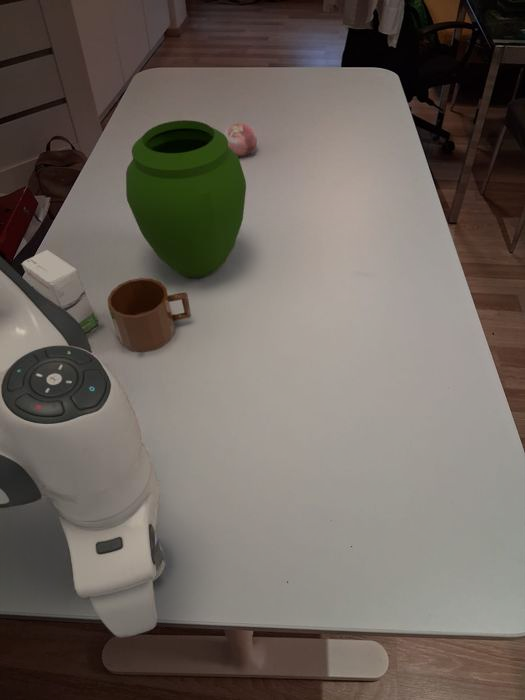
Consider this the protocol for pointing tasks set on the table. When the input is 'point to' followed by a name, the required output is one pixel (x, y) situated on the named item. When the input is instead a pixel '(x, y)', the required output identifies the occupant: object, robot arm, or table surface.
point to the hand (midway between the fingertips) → (139, 552)
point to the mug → (144, 313)
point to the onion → (241, 139)
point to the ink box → (60, 286)
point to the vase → (187, 195)
